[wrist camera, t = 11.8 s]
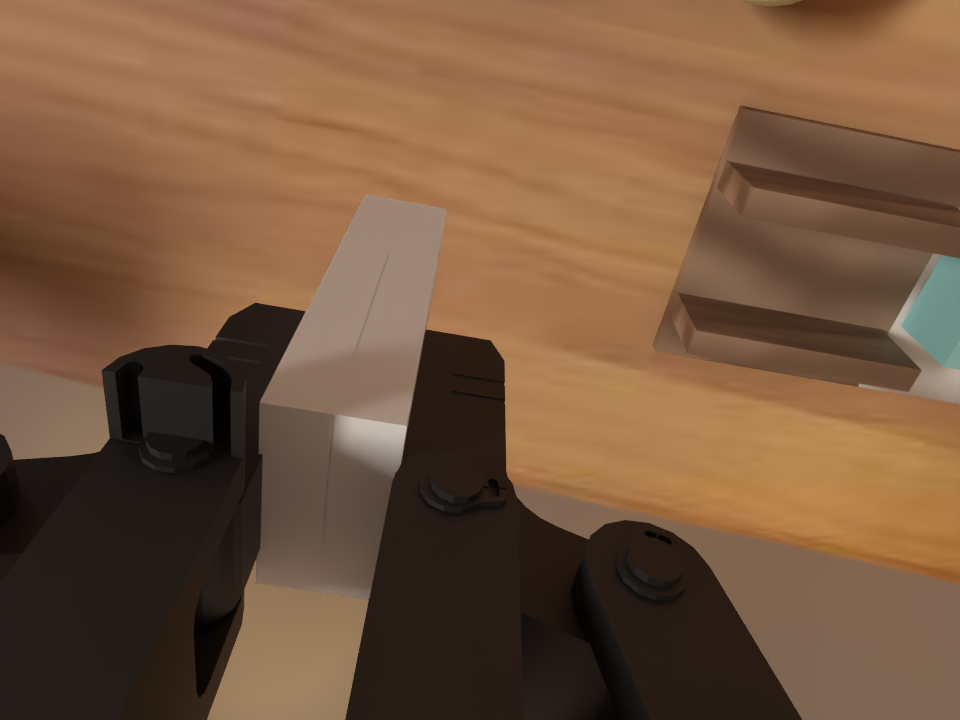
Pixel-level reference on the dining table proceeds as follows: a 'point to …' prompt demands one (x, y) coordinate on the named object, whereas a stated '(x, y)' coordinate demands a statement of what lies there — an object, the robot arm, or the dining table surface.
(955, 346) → the block
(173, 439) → the robot arm
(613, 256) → the dining table surface
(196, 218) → the dining table surface
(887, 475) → the dining table surface
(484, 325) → the dining table surface
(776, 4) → the fruit
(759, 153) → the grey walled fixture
